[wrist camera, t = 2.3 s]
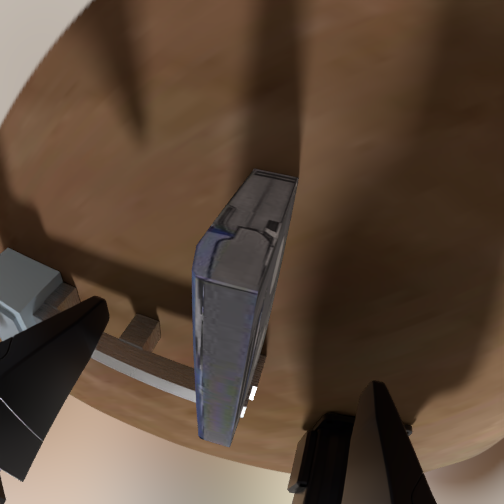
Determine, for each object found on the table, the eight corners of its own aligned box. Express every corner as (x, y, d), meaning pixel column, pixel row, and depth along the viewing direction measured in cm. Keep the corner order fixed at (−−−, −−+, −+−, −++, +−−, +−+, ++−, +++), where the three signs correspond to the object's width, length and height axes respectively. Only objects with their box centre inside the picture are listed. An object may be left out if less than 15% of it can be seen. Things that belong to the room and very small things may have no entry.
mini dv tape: (255, 167, 11) (177, 269, 6) (299, 176, 10) (257, 290, 5) (235, 329, 15) (191, 436, 10) (264, 337, 15) (229, 448, 10)
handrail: (266, 355, 16) (250, 407, 13) (261, 370, 16) (246, 419, 14) (60, 280, 17) (29, 312, 15) (65, 296, 18) (36, 328, 15)
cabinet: (60, 272, 17) (16, 316, 13) (86, 350, 21) (58, 390, 18) (8, 247, 18) (-32, 281, 14) (36, 322, 22) (8, 355, 19)
